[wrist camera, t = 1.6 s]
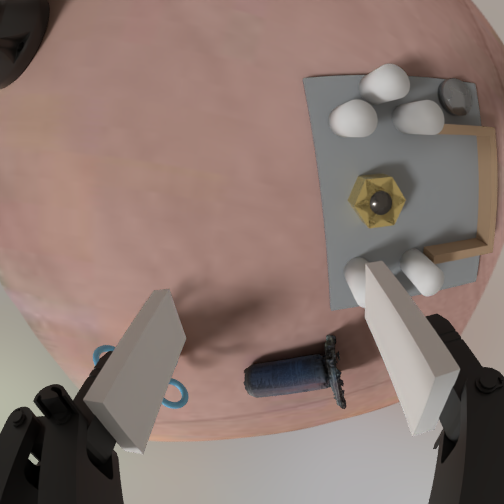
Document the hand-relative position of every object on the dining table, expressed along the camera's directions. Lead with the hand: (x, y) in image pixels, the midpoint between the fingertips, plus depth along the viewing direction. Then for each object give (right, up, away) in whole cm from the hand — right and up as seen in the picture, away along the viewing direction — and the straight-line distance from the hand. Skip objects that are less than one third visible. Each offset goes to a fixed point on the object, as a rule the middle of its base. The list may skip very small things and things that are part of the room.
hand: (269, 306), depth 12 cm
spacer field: (+16, +8, +14) cm, 23 cm away
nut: (+11, +8, +14) cm, 19 cm away
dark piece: (+5, -12, +24) cm, 27 cm away
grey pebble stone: (+20, +18, +9) cm, 29 cm away
